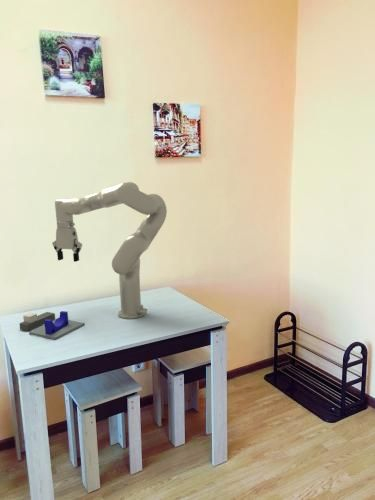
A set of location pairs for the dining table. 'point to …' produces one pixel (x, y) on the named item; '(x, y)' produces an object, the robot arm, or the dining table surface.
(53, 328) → the blue curved block
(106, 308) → the dining table surface
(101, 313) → the dining table surface
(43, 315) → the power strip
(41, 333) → the slate mat
